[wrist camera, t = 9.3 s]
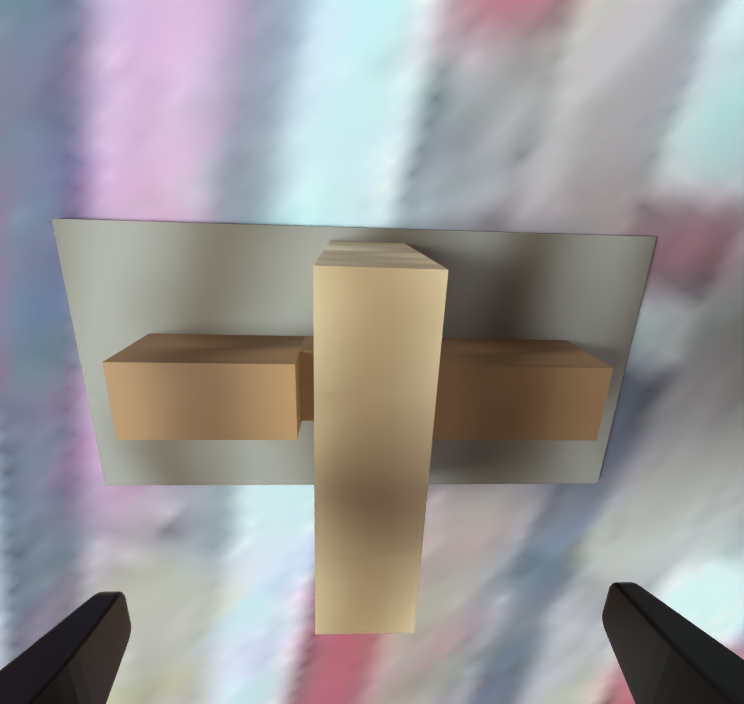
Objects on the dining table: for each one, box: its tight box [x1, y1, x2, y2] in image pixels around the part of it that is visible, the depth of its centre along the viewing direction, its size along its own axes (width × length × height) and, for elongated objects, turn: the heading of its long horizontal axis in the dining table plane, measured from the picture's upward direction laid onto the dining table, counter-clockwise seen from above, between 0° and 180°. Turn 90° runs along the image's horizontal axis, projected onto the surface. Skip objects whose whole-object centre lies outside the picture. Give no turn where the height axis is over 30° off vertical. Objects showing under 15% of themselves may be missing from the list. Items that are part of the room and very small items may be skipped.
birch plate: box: [313, 241, 448, 634], centre depth 15 cm, size 3×11×8 cm, turn 178°
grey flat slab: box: [52, 218, 656, 485], centre depth 17 cm, size 24×12×4 cm, turn 88°
